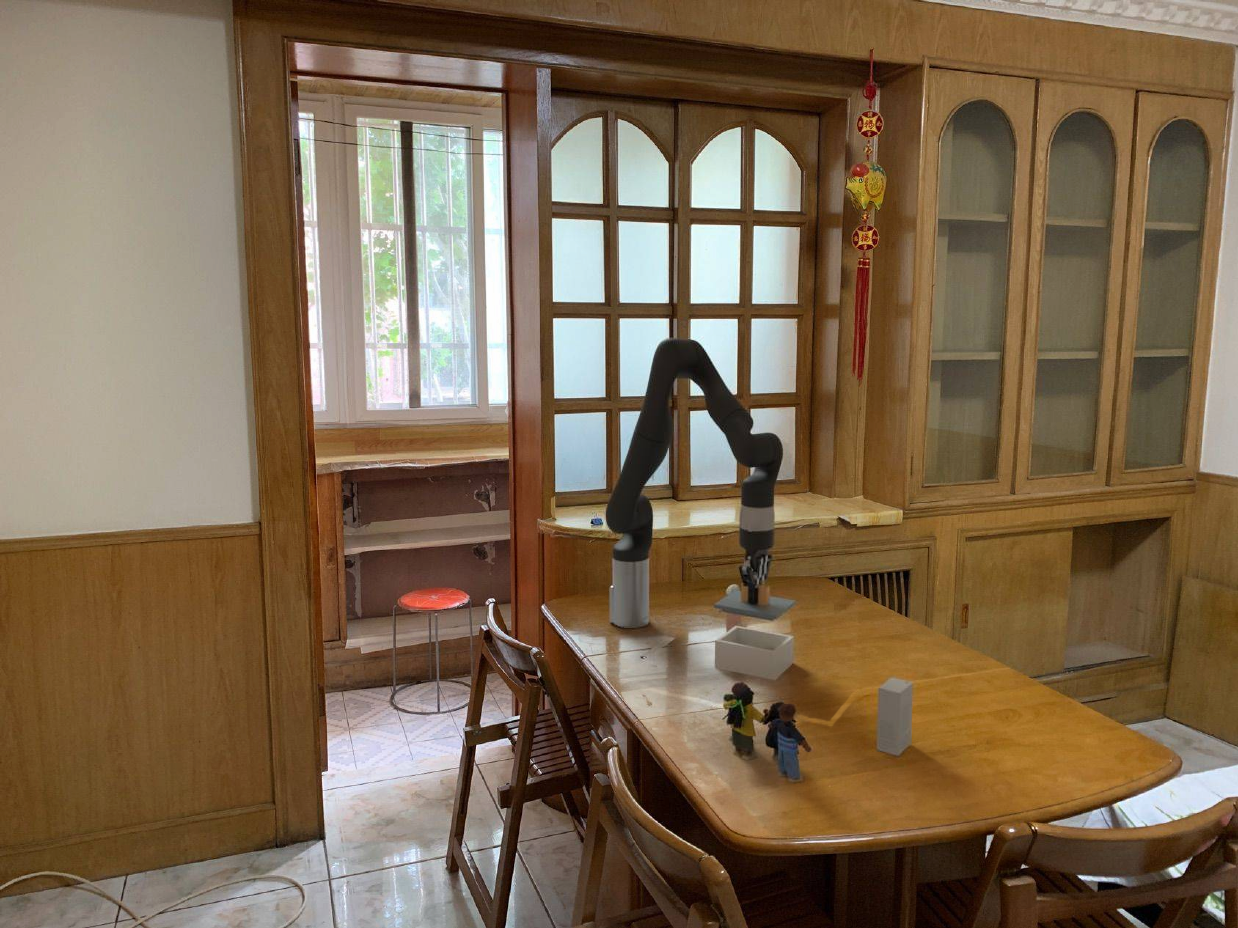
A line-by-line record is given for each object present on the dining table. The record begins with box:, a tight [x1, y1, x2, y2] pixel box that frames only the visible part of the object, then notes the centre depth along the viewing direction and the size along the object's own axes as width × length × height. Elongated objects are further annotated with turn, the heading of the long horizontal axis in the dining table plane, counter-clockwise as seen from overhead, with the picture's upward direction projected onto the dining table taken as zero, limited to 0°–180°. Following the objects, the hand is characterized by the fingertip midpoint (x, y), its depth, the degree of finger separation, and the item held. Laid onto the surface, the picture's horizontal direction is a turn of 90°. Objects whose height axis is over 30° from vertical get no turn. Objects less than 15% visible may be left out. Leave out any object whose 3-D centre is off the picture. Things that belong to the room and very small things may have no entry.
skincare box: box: [876, 677, 914, 757], centre depth 161 cm, size 6×4×12 cm
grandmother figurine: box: [716, 583, 743, 632], centre depth 219 cm, size 8×4×13 cm, turn 84°
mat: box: [640, 636, 676, 659], centre depth 207 cm, size 16×14×1 cm
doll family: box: [721, 682, 812, 784], centre depth 157 cm, size 23×9×13 cm, turn 45°
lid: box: [713, 582, 796, 622], centre depth 196 cm, size 14×11×6 cm
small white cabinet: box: [714, 626, 795, 681], centre depth 198 cm, size 14×11×7 cm
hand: (754, 601), depth 196 cm, fingers closed on lid, 1 cm apart
